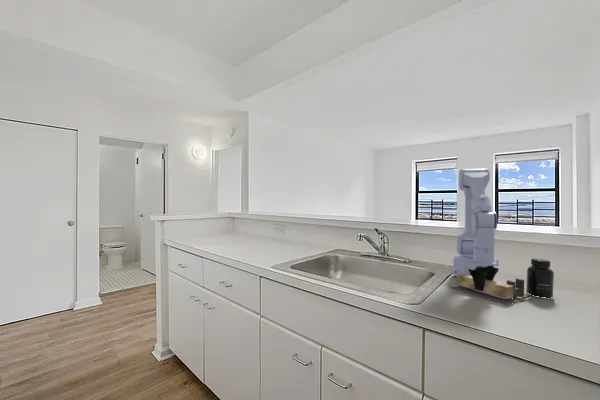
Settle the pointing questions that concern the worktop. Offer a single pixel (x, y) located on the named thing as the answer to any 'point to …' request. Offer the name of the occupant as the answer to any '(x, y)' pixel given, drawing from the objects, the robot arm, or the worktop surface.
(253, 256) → the worktop surface
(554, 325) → the worktop surface
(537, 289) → the supplement bottle
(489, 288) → the rail
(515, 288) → the stand
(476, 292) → the mat
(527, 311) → the worktop surface
